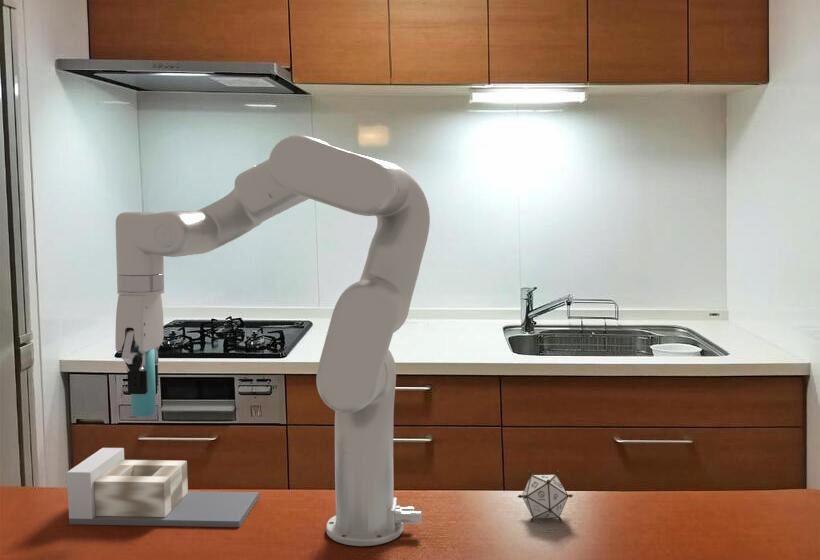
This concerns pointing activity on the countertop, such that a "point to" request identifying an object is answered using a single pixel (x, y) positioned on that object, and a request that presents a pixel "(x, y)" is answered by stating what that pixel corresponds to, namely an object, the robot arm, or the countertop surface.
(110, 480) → the block
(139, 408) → the dowel
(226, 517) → the track
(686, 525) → the countertop surface
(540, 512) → the game die
